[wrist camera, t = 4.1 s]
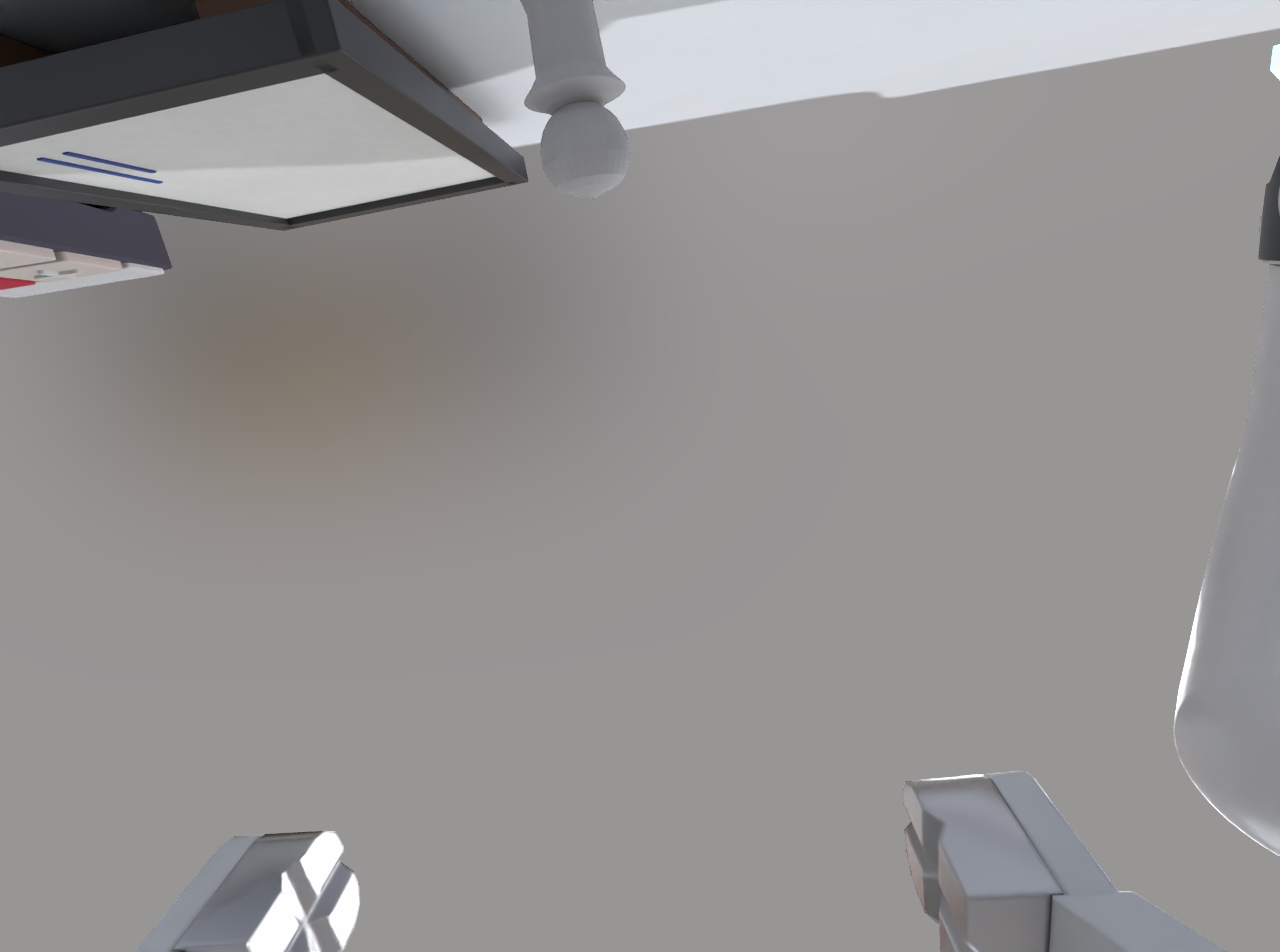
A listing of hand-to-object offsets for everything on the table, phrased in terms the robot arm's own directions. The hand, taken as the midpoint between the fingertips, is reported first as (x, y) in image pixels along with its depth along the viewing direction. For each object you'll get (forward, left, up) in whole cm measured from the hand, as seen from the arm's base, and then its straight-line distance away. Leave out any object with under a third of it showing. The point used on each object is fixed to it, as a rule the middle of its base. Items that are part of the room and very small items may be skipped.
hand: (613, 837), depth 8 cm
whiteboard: (+14, +22, -18) cm, 32 cm away
